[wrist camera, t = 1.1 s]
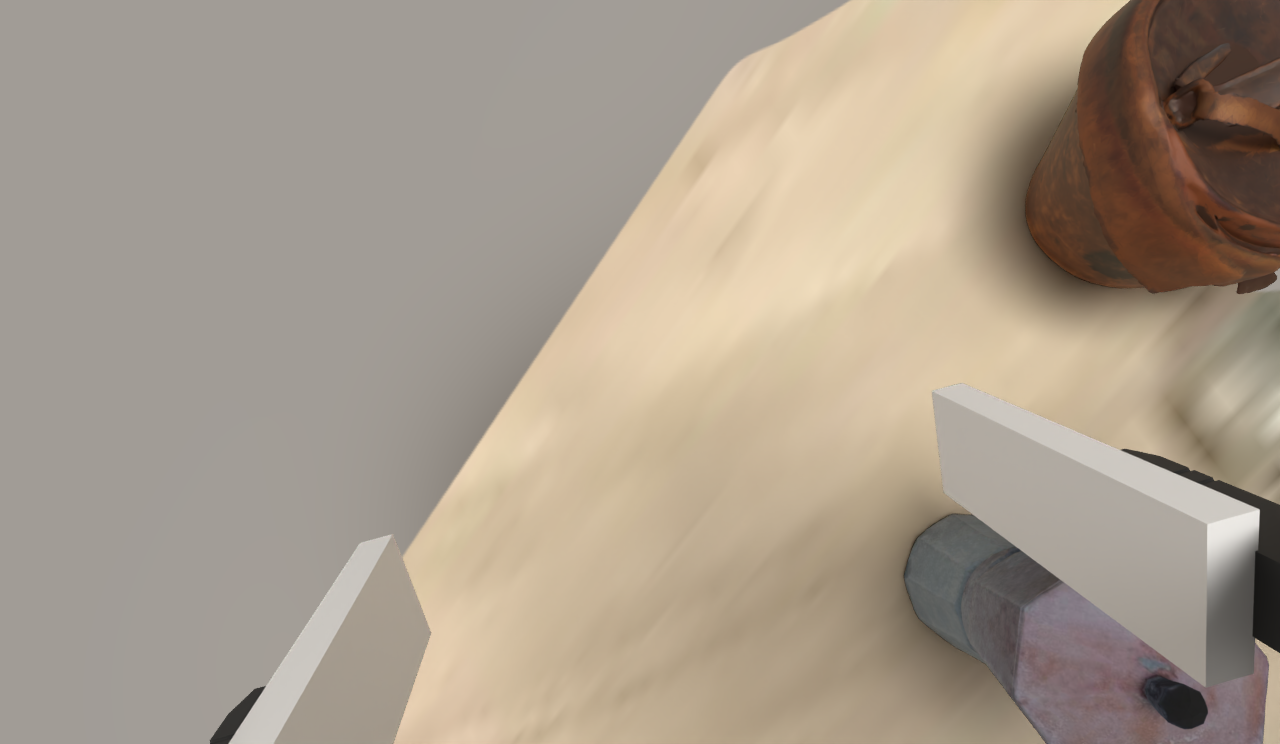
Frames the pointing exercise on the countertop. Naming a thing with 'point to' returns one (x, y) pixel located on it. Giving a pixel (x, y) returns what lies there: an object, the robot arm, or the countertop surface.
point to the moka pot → (1068, 649)
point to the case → (1169, 151)
